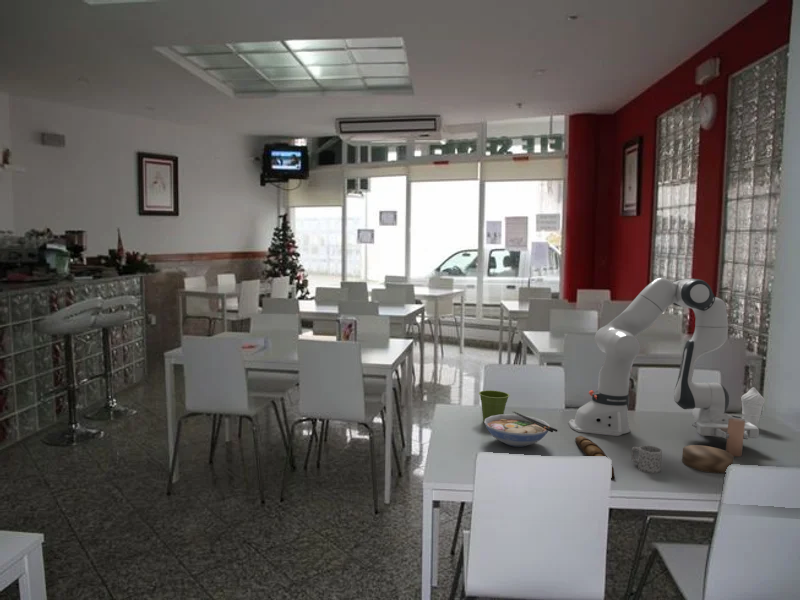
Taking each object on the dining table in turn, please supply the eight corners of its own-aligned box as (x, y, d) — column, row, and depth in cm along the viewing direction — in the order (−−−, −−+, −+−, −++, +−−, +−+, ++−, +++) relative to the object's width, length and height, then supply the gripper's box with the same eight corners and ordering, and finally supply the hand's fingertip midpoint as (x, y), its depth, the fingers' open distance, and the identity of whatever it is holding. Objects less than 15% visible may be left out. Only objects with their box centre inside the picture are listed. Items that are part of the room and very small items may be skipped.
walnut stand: (692, 471, 202) (693, 459, 201) (675, 455, 217) (676, 444, 216) (741, 474, 201) (742, 462, 200) (720, 457, 216) (721, 446, 215)
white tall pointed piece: (761, 431, 248) (765, 391, 246) (737, 427, 252) (741, 388, 250) (762, 426, 255) (766, 387, 253) (739, 422, 259) (742, 384, 257)
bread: (568, 440, 230) (569, 427, 229) (582, 440, 230) (583, 427, 229) (605, 481, 192) (606, 465, 191) (622, 481, 192) (623, 465, 191)
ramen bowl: (470, 435, 230) (471, 413, 230) (523, 430, 239) (525, 409, 238) (506, 459, 207) (507, 434, 206) (564, 452, 216) (565, 429, 215)
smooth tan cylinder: (729, 456, 217) (732, 422, 216) (722, 451, 222) (726, 417, 221) (744, 457, 217) (747, 422, 216) (737, 452, 222) (740, 418, 221)
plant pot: (512, 425, 244) (514, 397, 243) (483, 427, 241) (485, 398, 240) (500, 417, 255) (502, 389, 254) (472, 418, 253) (474, 390, 251)
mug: (664, 470, 202) (666, 450, 201) (652, 474, 198) (654, 454, 197) (636, 461, 210) (638, 441, 209) (624, 464, 206) (626, 444, 205)
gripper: (690, 414, 232) (706, 426, 218) (748, 417, 231) (767, 429, 217) (689, 431, 233) (704, 443, 219) (746, 434, 232) (765, 447, 218)
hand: (736, 436), depth 218 cm, fingers closed on smooth tan cylinder, 5 cm apart
